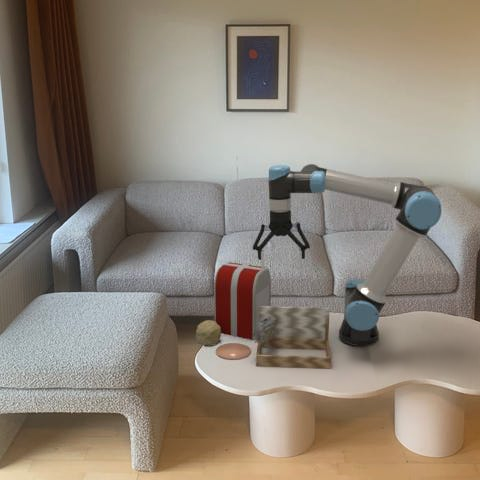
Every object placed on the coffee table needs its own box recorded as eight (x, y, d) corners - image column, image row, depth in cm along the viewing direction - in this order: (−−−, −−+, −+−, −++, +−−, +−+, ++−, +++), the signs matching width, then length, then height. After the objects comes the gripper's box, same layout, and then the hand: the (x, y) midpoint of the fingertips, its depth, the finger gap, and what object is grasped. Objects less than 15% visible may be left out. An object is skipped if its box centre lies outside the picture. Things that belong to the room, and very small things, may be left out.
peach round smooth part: (252, 345, 249) (252, 343, 249) (249, 360, 237) (249, 358, 237) (217, 344, 250) (217, 342, 250) (213, 359, 238) (213, 357, 238)
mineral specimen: (279, 329, 245) (270, 326, 247) (278, 312, 240) (268, 309, 242) (258, 354, 235) (248, 350, 237) (256, 337, 231) (246, 333, 233)
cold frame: (328, 348, 247) (329, 308, 242) (330, 368, 230) (332, 326, 226) (258, 345, 249) (258, 306, 244) (256, 366, 232) (256, 323, 228)
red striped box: (254, 342, 252) (254, 275, 245) (213, 334, 259) (212, 269, 252) (271, 327, 266) (272, 263, 259) (231, 319, 273) (231, 257, 266)
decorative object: (208, 355, 248) (224, 336, 245) (187, 339, 248) (202, 319, 245) (213, 347, 257) (228, 328, 254) (193, 330, 257) (208, 312, 254)
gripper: (315, 206, 234) (316, 263, 239) (245, 208, 235) (247, 265, 241) (316, 211, 226) (317, 270, 232) (244, 213, 228) (246, 271, 234)
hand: (281, 267), depth 236 cm, fingers open, 13 cm apart
